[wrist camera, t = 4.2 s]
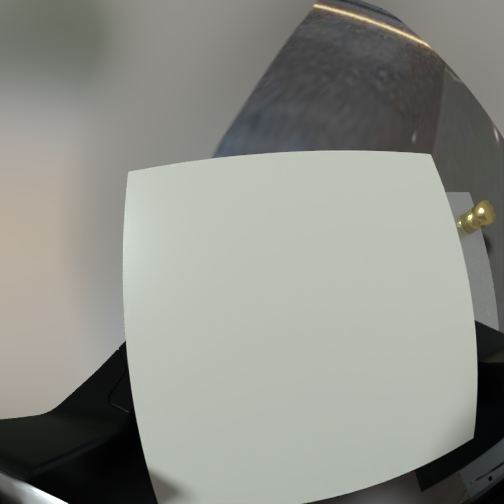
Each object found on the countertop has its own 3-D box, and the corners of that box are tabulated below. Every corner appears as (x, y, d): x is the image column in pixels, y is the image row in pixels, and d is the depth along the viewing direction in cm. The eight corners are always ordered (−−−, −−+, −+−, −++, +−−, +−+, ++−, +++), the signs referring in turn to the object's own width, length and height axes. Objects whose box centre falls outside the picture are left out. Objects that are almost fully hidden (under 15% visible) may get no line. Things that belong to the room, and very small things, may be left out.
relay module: (319, 368, 14) (474, 439, 3) (225, 379, 14) (156, 509, 2) (307, 277, 16) (431, 152, 4) (216, 288, 15) (125, 169, 4)
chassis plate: (491, 369, 14) (522, 370, 11) (361, 424, 14) (386, 443, 10) (462, 197, 18) (487, 178, 14) (331, 202, 17) (348, 174, 14)
